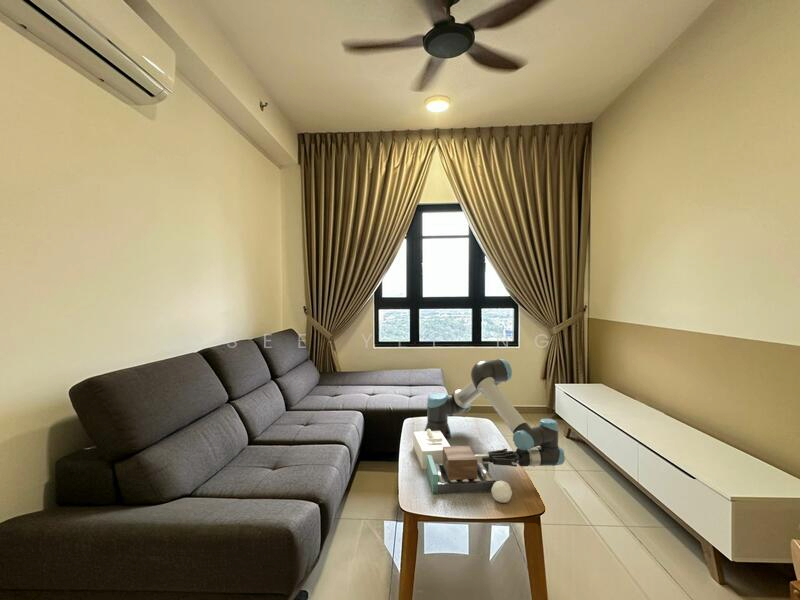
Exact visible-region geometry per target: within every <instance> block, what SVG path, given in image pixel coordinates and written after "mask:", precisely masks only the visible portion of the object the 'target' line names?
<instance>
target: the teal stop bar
mask: <svg viewBox="0 0 800 600" xmlns="http://www.w3.org/2000/svg"><path fill="white" fill-rule="evenodd" d="M427 465H428V466H427V469H426V474H427V477H428V480H429V483H430V489H431V492H432V494H433V495H439V494H438V491H437V489H436V487H435V486H434V484H435V485H436V486H437V488H438V485H437V484H438V473H437V470H436V467H435V464H434V461H433V458H432V455H427ZM427 470H428V471H427ZM434 487H435V489H433V488H434ZM436 493H437V494H436Z"/></svg>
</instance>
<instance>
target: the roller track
mask: <svg viewBox="0 0 800 600" xmlns="http://www.w3.org/2000/svg"><path fill="white" fill-rule="evenodd" d="M427 466H428V465H427ZM435 467H436V470H437V473H438V484H437V485H438V488H437V486H436V485H435V484H434V486H435V487H436V489H437V491H438V494H437V493H436V494H435V495H448V494H449V495H450V494H478V493H479V494H480V493H482V494H483V493H492V492H491V489H492V486H493V484H494V483H495V482H496V481H501V480H499V479H497V480H496V479H495V480H494V479H493V478H492V477H491V475H490V474H489V462H477V479H471V481H470V479H459V480H460V481H457V480H458V479H453V480H449V479H448V481H445V478H444V475H443V474H445V475H446V476H447V474H446V471H445V469H444V466H443V463H438V464H435ZM427 471H428V470H427V469H426V472H427ZM479 473H480V475H481V478H482V479H483V480H482V479H481V478H480V477H479V475H478V474H479ZM447 478H448V476H447ZM435 487H434V488H433V489H435Z"/></svg>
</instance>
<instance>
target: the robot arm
mask: <svg viewBox="0 0 800 600" xmlns="http://www.w3.org/2000/svg"><path fill="white" fill-rule="evenodd" d="M512 373H513V370H512V366H511V364H510V363H509V362H508V360H506V359H503V358H498V359H490V360H480V361H478V362H476V363H475V364H474V365H473V366H472V369H471V372H470V378H471V381H470V382H469V383H467V384H466V385H465V386H464V387H463V388H462V389H461V388H459V389H457V390H455V391H454V392H453V393H451V394H447V393H444V392H436V393H433V394H430V395H428V397H427V401H426V406H427V407H426V409H427V412H426V413H427V418H426V419H427V421H426V425H425V427H424V431H426V430H427V429H430V430H431V431H441V433H442V434H443V436H444V437H445V439H446V440H448V439H450V438H451V436H452V435H451V434H452V432H451V429H450V426H449V422H448V416H455V415H459V414H465V413H467V412H469V411H470V409H471V408H472V405H473V404H472V402H473V401H474V400H476V399H477V398H478V397H479V396H481V395H483V396H484V398H486V401H487V402H489V404H490V405H491V406H492V407H493V409H494V411H495V412H496V413H497V415H498V416H499V417H500V418H501V419H502V421H503V422H504V424H506V426H507V428H508V429H509V430H510V431H511V433H512V434H513V435H512V442H514V443H513V444H514V446H515V447H516V450H515V451H514V450H509V451H508V448H503V449H499V450H498V449H497V450H491V451H490V450H489V451H488V452H487V453H483V454H480V453H479V454H474V455H475V457H476V458H477V462H488V463H491V464H492V465H495V466H506V467H507V466H511V467H515V468H517V467H518V466H519V467H522V468H523V467H542V466H544V467H545V466H546V467H547V466H548V467H549V466H551V467H552V466H553V467H554V466H562V465H563V464H564V463H565V461H566V456H565V452H564V449H563V448H562V447H560V446H559V424H558V421H556V420H554V419H552V418H541V419H540V420H539V424H538V426H535V427H531V426H530V425H529V423H527V421H526V420H525V418H524V417H523V416H522V415H521V414H520V412H519V411H518V410H516V408H515V407H514V405H513V404H512V403H511V401H510V400H509V399H508V398H507V397H506V395H505V394H504V393H503V391H502V390H501V389H500V388H499V387H498V386H499V385H500V384H501V383H503V382H504V383H506V382H509V381H511V378H512V376H513V374H512Z"/></svg>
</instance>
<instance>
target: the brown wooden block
mask: <svg viewBox="0 0 800 600" xmlns="http://www.w3.org/2000/svg"><path fill="white" fill-rule="evenodd" d="M475 455H476V454H474V452H473V450H472V448H471V447H470V445H458V446H456V445H455V446H451V445H450V446H448V447H443V466H444V469H445V471H446V474H445V475H446V476H448V477H447V478H448V481H449V480H453V479H456V480H460V479H468V480H472V479H477V475H478V473H477V458H476V457H475Z"/></svg>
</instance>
